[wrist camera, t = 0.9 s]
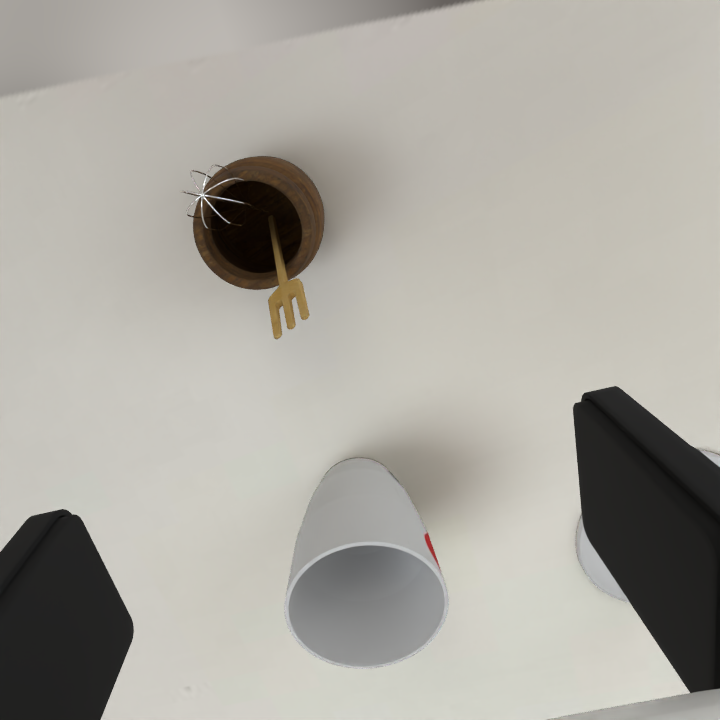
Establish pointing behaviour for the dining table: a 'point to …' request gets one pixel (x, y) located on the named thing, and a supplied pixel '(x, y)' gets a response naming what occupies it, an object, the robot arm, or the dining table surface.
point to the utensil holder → (260, 229)
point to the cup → (364, 572)
